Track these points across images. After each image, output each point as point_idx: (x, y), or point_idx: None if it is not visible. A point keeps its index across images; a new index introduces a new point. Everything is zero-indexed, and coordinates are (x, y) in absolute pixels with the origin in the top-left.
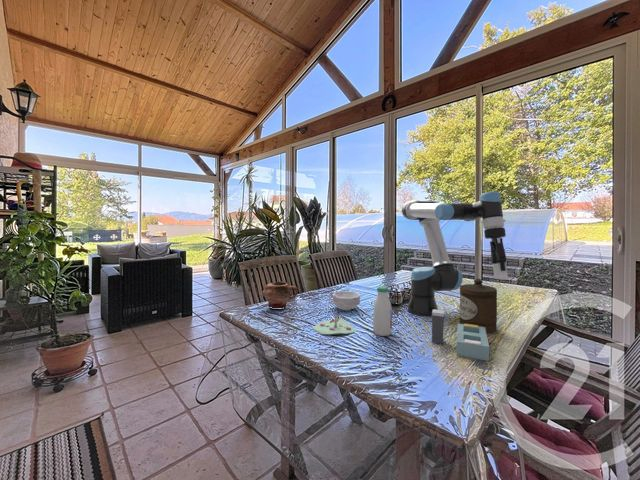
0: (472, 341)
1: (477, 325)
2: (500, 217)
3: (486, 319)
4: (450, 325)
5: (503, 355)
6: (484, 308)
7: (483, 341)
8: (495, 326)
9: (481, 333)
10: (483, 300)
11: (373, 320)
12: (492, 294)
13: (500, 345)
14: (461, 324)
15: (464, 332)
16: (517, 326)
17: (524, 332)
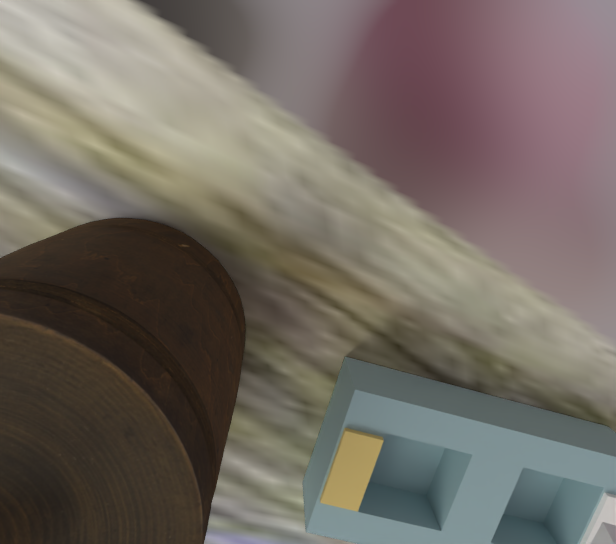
0: None
1: (346, 434)
2: None
3: (237, 348)
4: None
5: (547, 337)
6: (228, 404)
7: (589, 473)
8: (198, 252)
9: (470, 446)
10: (218, 456)
11: None
12: (179, 398)
13: (423, 302)
14: (320, 513)
15: (460, 530)
16: (50, 31)
17: (178, 44)
